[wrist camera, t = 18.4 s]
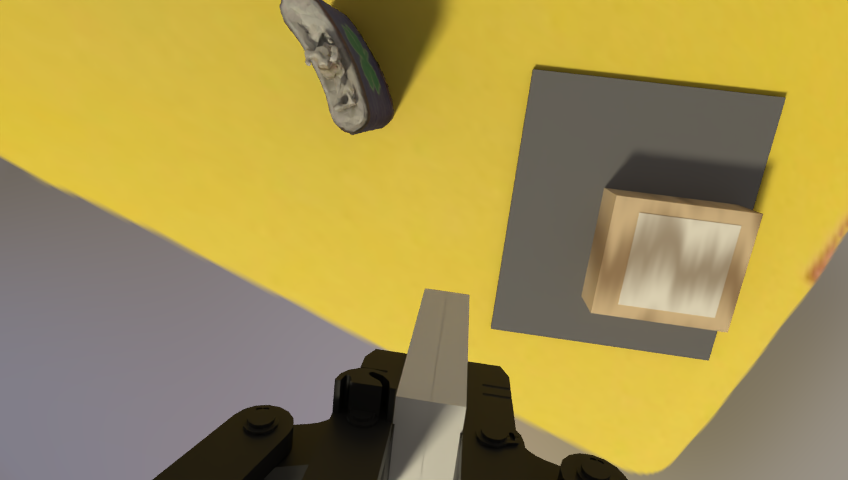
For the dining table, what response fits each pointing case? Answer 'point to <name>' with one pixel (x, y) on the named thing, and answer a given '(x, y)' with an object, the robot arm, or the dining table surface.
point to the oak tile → (669, 259)
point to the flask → (341, 65)
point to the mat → (624, 170)
